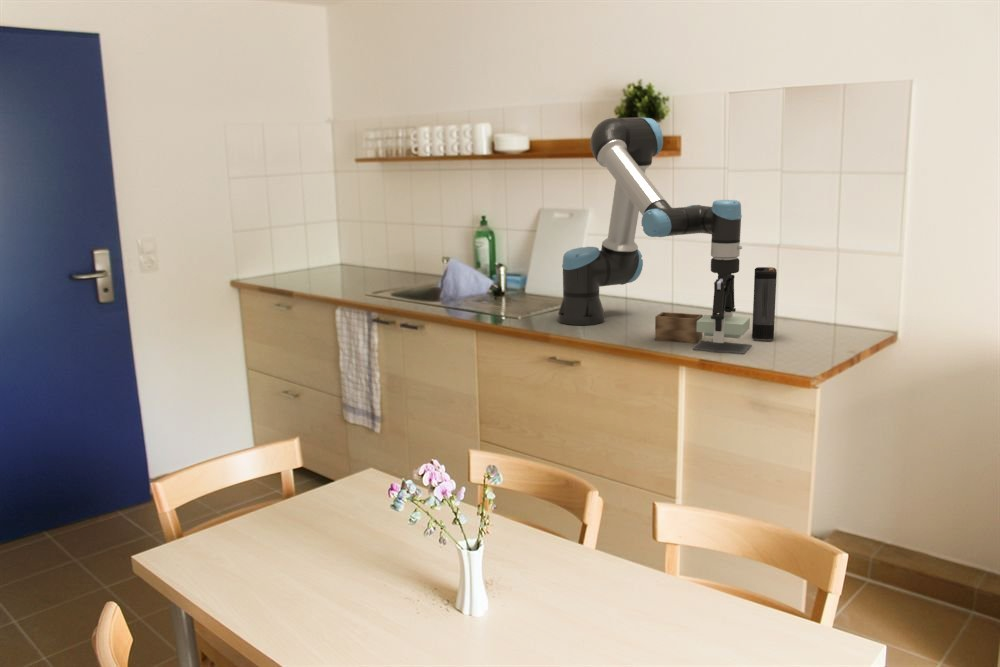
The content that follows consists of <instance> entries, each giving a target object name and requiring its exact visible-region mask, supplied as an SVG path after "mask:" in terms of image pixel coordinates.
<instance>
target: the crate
mask: <svg viewBox="0 0 1000 667" xmlns="http://www.w3.org/2000/svg"><path fill="white" fill-rule="evenodd" d="M703 316H704V315H703V314H697V313H684V312H682V313H681V312H668V311H661V312H660V313H658V314H657V315H656V316H655V319H654V320H655V322H654V324H655V325H654V328H655V329H654V330H655V331H654V341H660V342H661V341H664V342H674V343H675V342H676V343H686V344H698V343H699V342H700V341H702V339H703V332H697V321H698V320H699V319H700V318H702V317H703Z"/></svg>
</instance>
